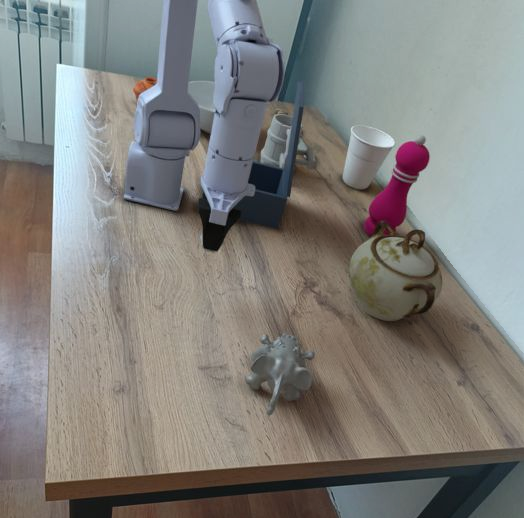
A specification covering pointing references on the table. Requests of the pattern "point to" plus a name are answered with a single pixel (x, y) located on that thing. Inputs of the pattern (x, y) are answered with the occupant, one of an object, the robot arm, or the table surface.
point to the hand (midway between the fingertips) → (212, 240)
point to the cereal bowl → (204, 102)
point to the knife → (301, 144)
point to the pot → (144, 86)
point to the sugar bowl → (394, 275)
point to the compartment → (264, 196)
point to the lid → (294, 142)
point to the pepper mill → (398, 186)
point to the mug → (278, 141)
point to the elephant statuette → (280, 368)
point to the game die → (207, 249)
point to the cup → (365, 155)
